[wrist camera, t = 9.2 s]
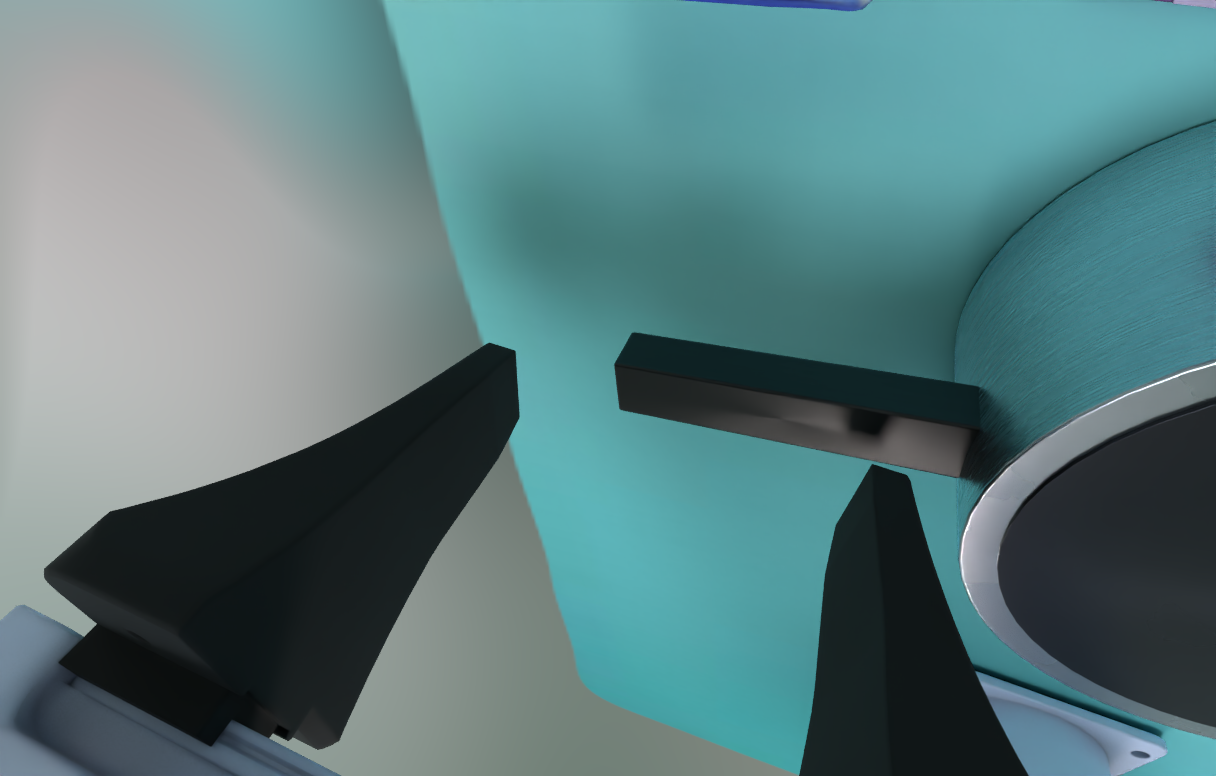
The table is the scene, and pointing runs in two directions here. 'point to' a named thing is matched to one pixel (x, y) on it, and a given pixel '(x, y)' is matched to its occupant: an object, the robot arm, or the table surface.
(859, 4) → the medicine box
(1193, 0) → the purple rag
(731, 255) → the table surface
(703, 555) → the table surface
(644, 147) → the table surface
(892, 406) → the silver pot
